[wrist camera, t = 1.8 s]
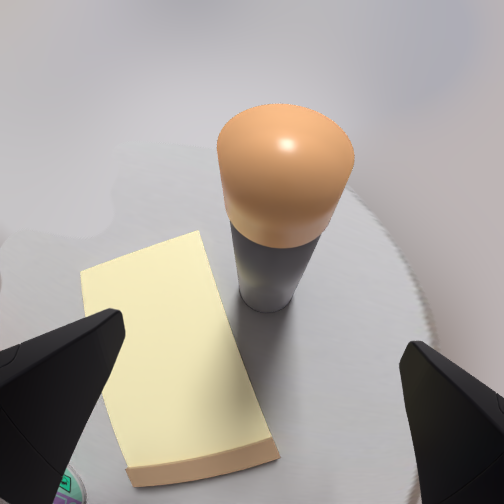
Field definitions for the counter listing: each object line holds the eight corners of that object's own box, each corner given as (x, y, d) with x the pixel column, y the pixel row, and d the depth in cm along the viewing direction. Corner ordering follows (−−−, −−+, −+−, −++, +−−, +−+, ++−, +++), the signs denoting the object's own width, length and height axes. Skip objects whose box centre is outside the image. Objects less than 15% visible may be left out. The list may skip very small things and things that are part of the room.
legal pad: (279, 453, 16) (280, 457, 15) (138, 482, 14) (133, 487, 13) (199, 233, 23) (197, 226, 22) (83, 273, 21) (76, 269, 20)
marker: (303, 302, 20) (379, 178, 7) (249, 322, 20) (243, 217, 7) (282, 253, 22) (314, 97, 9) (230, 270, 21) (202, 118, 8)
